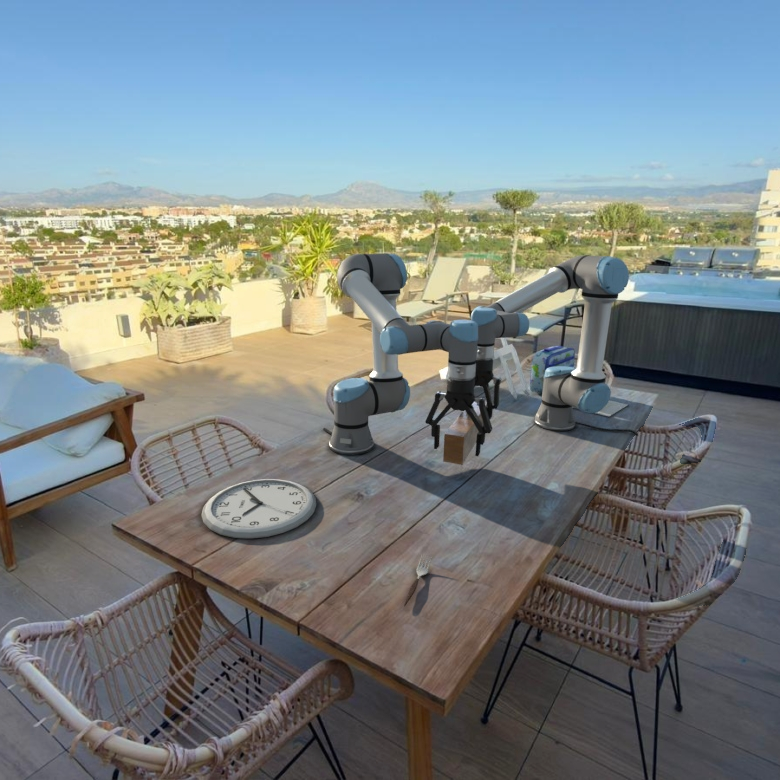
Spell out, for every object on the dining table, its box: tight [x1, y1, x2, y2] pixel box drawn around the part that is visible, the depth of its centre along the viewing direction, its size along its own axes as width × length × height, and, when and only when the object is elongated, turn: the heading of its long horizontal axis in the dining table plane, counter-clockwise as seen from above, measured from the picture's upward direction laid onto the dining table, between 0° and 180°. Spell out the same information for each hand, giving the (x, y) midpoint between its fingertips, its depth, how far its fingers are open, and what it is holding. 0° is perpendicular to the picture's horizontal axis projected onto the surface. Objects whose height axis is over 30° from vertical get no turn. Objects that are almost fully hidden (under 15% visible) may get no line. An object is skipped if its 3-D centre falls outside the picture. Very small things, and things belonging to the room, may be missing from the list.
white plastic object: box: [438, 337, 531, 400], centre depth 245 cm, size 37×45×31 cm
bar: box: [442, 399, 488, 466], centre depth 160 cm, size 34×6×8 cm, turn 158°
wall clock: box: [201, 478, 317, 539], centre depth 141 cm, size 30×2×30 cm
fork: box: [403, 554, 432, 607], centre depth 111 cm, size 3×16×2 cm, turn 160°
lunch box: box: [529, 345, 576, 394], centre depth 244 cm, size 26×11×21 cm, turn 135°
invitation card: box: [575, 399, 629, 418], centre depth 226 cm, size 21×1×15 cm
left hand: (456, 450), depth 149 cm, fingers open, 11 cm apart
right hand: (476, 425), depth 172 cm, fingers closed on bar, 6 cm apart
